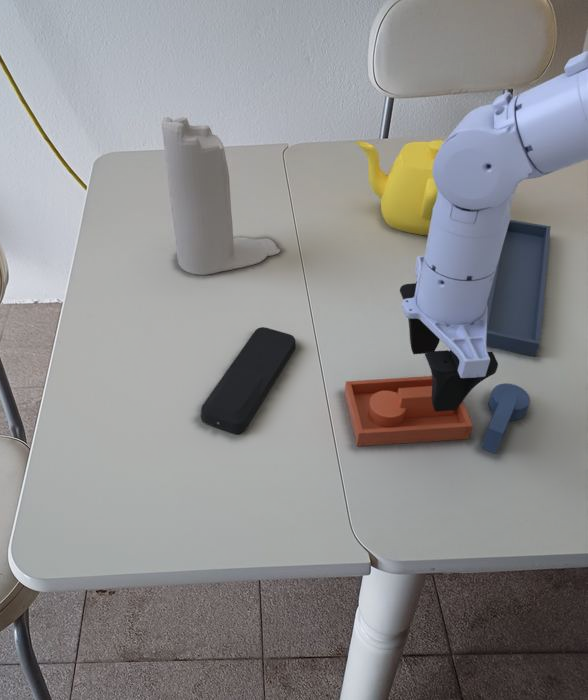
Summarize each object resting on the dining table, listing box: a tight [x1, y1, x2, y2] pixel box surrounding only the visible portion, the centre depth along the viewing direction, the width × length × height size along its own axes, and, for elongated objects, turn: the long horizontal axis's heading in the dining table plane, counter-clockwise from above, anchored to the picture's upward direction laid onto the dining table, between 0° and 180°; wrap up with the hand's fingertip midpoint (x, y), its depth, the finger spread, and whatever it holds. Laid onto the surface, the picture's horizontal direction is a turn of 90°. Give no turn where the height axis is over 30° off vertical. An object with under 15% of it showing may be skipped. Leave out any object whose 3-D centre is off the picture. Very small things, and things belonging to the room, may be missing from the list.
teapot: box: [355, 139, 445, 236], centre depth 88 cm, size 22×16×11 cm
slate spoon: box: [480, 382, 531, 454], centre depth 63 cm, size 8×4×3 cm, turn 148°
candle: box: [161, 116, 281, 276], centre depth 81 cm, size 7×14×20 cm, turn 106°
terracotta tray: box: [344, 375, 474, 447], centre depth 65 cm, size 11×7×2 cm, turn 93°
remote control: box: [200, 326, 297, 434], centre depth 69 cm, size 5×2×15 cm
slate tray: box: [486, 219, 551, 357], centre depth 79 cm, size 25×6×2 cm, turn 158°
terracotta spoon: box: [368, 386, 454, 428], centre depth 64 cm, size 8×4×3 cm, turn 93°
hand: (432, 378), depth 62 cm, fingers open, 7 cm apart
